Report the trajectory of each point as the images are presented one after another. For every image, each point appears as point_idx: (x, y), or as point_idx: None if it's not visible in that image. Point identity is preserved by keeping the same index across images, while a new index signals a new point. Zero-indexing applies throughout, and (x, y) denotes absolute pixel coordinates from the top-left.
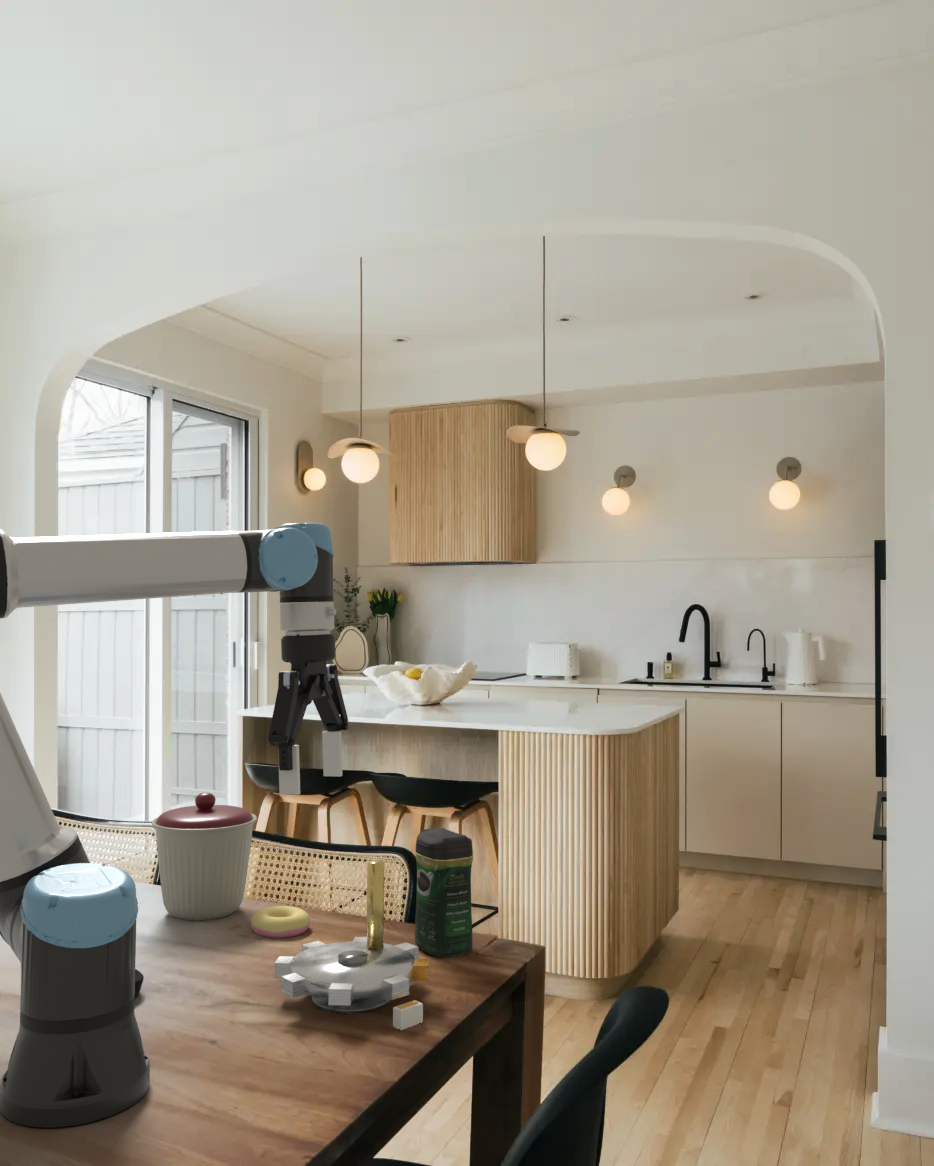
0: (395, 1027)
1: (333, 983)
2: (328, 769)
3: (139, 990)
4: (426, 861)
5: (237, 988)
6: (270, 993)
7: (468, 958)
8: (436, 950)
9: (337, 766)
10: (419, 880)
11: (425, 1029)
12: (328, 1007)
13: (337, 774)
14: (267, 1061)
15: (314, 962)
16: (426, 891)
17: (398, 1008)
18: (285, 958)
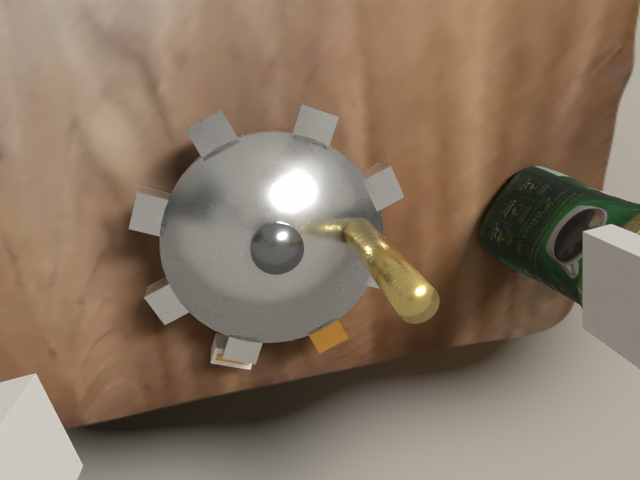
0: (214, 337)
1: (168, 288)
2: (612, 279)
3: None
4: None
5: (195, 16)
6: (212, 92)
7: (493, 269)
8: (481, 236)
9: (627, 343)
10: (584, 222)
11: (233, 368)
12: None
13: (591, 317)
14: (10, 273)
15: (232, 194)
16: (553, 244)
17: (216, 355)
18: (218, 130)
